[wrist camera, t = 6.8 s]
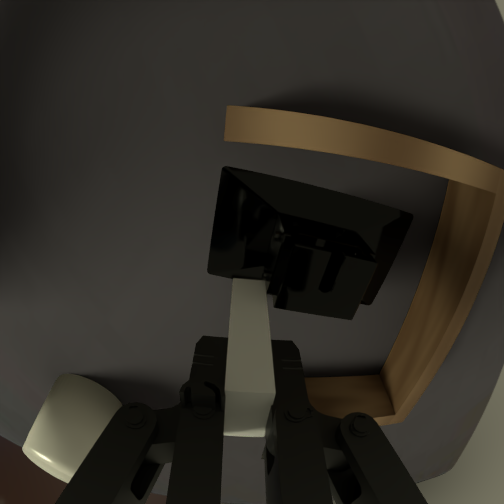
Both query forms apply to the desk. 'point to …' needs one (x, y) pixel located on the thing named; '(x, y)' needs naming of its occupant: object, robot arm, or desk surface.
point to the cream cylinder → (69, 424)
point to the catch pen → (438, 263)
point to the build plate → (304, 242)
